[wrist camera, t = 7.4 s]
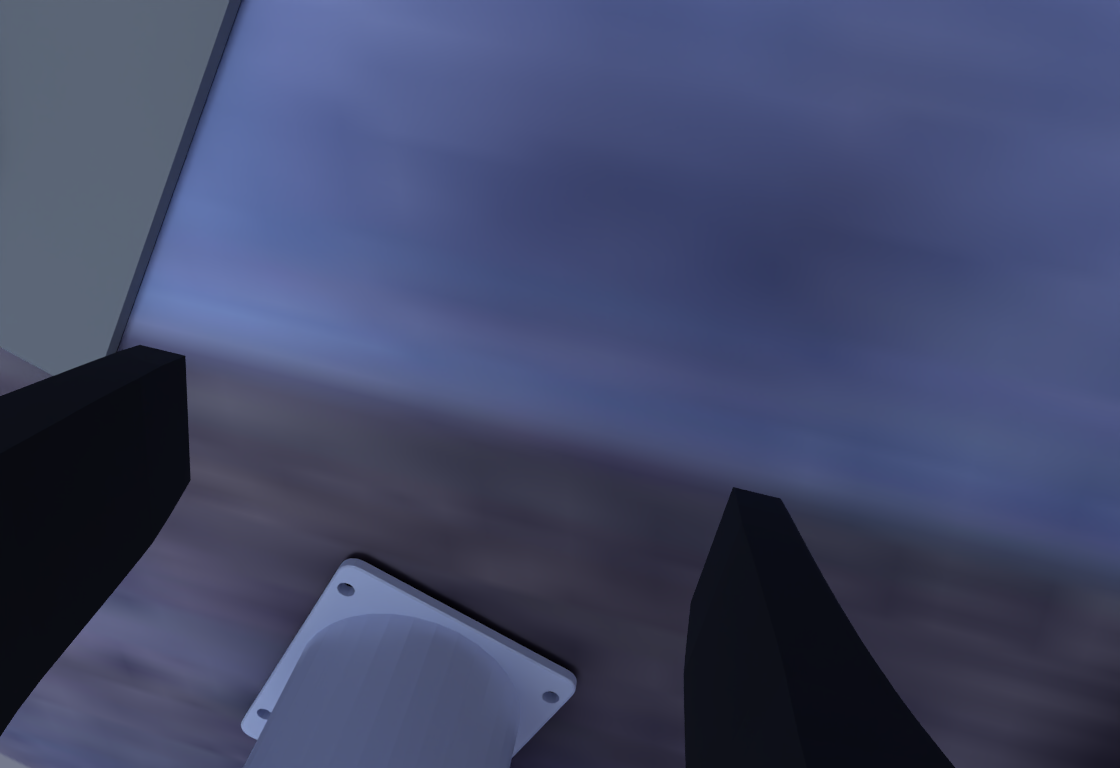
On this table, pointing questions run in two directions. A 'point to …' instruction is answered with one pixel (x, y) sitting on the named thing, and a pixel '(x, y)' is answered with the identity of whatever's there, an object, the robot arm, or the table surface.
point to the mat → (92, 159)
